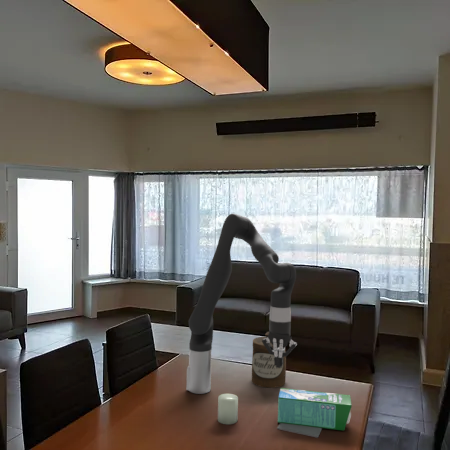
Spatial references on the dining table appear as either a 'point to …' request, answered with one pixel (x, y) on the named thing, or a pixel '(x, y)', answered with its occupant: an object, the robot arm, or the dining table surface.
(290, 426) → the display mat
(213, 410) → the dining table surface
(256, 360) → the wooden container
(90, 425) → the dining table surface
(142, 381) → the dining table surface
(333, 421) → the milk carton
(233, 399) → the pale green rounded cylinder
